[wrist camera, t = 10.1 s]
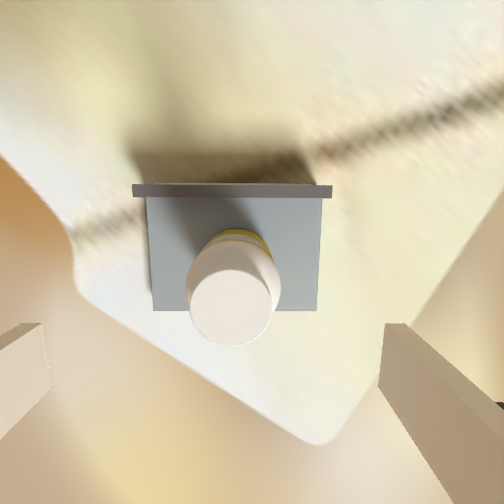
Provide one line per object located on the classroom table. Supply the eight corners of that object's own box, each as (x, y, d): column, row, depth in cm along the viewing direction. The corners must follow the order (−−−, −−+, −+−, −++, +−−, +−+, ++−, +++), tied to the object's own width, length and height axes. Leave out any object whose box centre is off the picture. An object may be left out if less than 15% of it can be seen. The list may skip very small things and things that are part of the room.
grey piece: (152, 184, 28) (131, 182, 23) (318, 184, 28) (332, 183, 23) (159, 303, 31) (142, 324, 26) (312, 303, 31) (324, 324, 26)
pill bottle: (244, 305, 29) (243, 382, 17) (188, 267, 28) (149, 322, 16) (284, 252, 28) (312, 297, 16) (228, 211, 27) (216, 229, 15)
